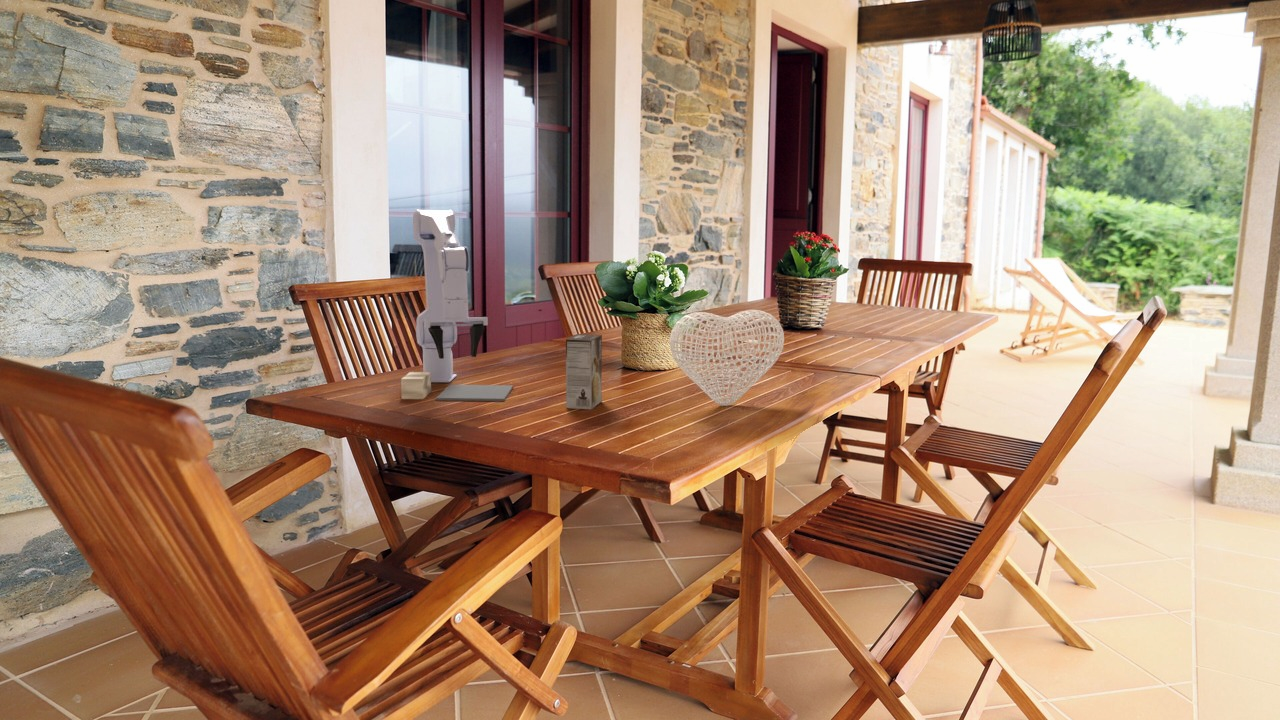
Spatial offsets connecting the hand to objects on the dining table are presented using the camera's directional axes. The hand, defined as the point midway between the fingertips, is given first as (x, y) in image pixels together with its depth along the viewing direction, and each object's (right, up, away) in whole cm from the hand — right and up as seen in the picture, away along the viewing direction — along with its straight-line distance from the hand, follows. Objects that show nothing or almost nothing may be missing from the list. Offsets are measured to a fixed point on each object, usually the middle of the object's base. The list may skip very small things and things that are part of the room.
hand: (457, 357), depth 211 cm
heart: (+63, -11, 0) cm, 64 cm away
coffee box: (+30, -11, -2) cm, 32 cm away
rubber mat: (+3, -9, +9) cm, 13 cm away
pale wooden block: (-11, -9, +7) cm, 16 cm away
